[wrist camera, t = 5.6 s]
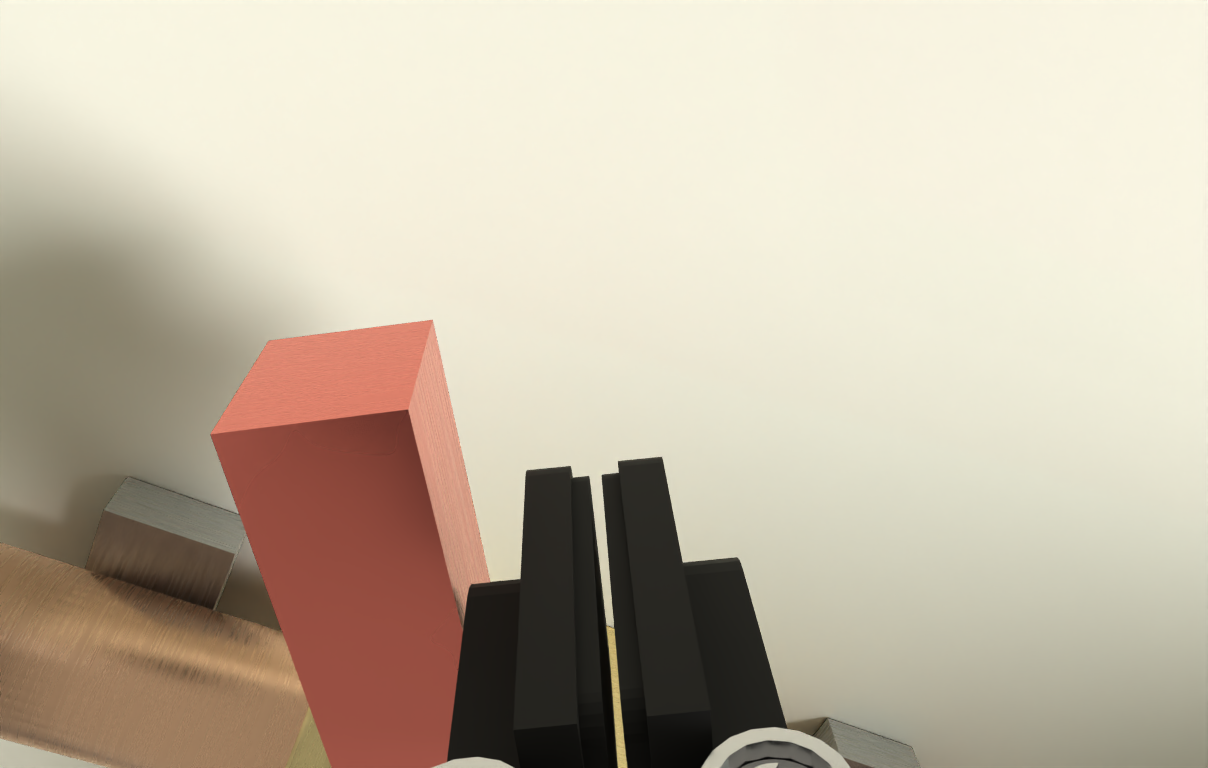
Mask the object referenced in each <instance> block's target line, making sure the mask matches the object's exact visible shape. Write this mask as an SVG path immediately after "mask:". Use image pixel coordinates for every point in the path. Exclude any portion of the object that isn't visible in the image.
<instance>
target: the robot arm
mask: <svg viewBox="0 0 1208 768" xmlns="http://www.w3.org/2000/svg"><path fill="white" fill-rule="evenodd" d="M618 468H619V473H614V474H604V475H602V485H603V497H604V509H605V521H606V533H607V545H608V558H609V570H610V582H611V594H612V606H613V618H614V630H615V642H616V654H617V666H618V678H619V690H620V702H621V713H622V723H623V733H624V743H625V752H626V761H627V768H850V766H849V765H848V764H847V762H846V761H845V760H844V758H843V757H842V756H841V754H839V753H838V752H837V751H835V750H834V749H833V748H831V747H830V746H829V745H827V744H826V743H825V742H823V741H822V740H820V739H817V738H815V737H813V736H810V735H808V734H805V733H803V732H800V731H797V730H790V729H787V726H786V723H785V719H784V715H783V712H782V708H781V705H780V701H779V697H778V694H777V690H776V687H775V683H774V680H773V676H772V672H771V669H770V665H769V662H768V658H767V654H766V651H765V647H764V644H763V640H762V637H761V633H760V629H759V626H758V622H757V619H756V615H755V611H754V608H753V604H752V601H751V597H750V593H749V590H748V586H747V583H746V579H745V576H744V572H743V569H742V566H741V563H740V560H739V559H738V558H737V557H736V558H726V559H716V560H706V561H696V562H686V563H683V562H682V557H681V552H680V547H679V542H678V536H677V531H676V526H675V521H674V516H673V510H672V505H671V500H670V495H669V490H668V484H667V479H666V474H665V469H664V464H663V459H662V457H655V458H645V459H635V460H626V461H618ZM432 768H618V761H617V748H616V734H615V720H614V706H613V692H612V679H611V666H610V655H609V645H608V636H607V627H606V618H605V609H604V600H603V592H602V583H601V574H600V565H599V556H598V547H597V539H596V530H595V521H594V512H593V503H592V494H591V486H590V478H589V476H585V477H575V478H573V476H572V470H571V466H566V467H556V468H546V469H536V470H527V471H526V479H525V500H524V520H523V541H522V561H521V579H517V580H507V581H497V582H487V583H477V584H471V585H470V587H469V590H468V595H467V602H466V610H465V618H464V626H463V634H462V642H461V651H460V659H459V667H458V675H457V683H456V691H455V699H454V707H453V715H452V724H451V732H450V740H449V748H448V756H447V762H446V763H443V764H440V765H437V766H435V767H432Z"/></svg>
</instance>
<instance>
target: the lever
mask: <svg viewBox="0 0 1208 768" xmlns="http://www.w3.org/2000/svg"><path fill="white" fill-rule="evenodd" d="M210 435H211V438H212V440H213V443H214V446H215V449H216V451H217V454H218V457H219V460H220V462H221V465H222V468H223V471H224V473H225V476H226V479H227V482H228V484H229V487H230V490H231V493H232V495H233V498H234V501H235V504H236V506H237V509H238V512H239V515H240V517H241V520H242V523H243V526H244V528H245V531H246V534H247V537H248V539H249V542H250V545H251V548H252V550H253V553H254V556H255V559H256V561H257V564H258V567H259V570H260V572H261V575H262V578H263V581H264V583H265V586H266V589H267V592H268V594H269V597H270V600H271V603H272V605H273V608H274V611H275V614H276V616H277V619H278V622H279V625H280V627H281V630H282V633H283V636H284V638H285V641H286V644H287V647H288V649H289V652H290V655H291V658H292V660H293V663H294V666H295V669H296V671H297V674H298V677H299V680H300V682H301V685H302V688H303V691H304V693H305V696H306V699H307V702H308V704H309V707H310V710H311V713H312V715H313V718H314V721H315V724H316V726H317V729H318V732H319V735H320V737H321V740H322V743H323V746H324V748H325V751H326V754H327V757H328V759H329V762H330V765H331V768H432V767H435V766H437V765H440V764H443V763H446V762H447V756H448V748H449V740H450V732H451V724H452V715H453V707H454V699H455V691H456V683H457V675H458V667H459V659H460V651H461V642H462V634H463V626H464V618H465V610H466V602H467V595H468V590H469V587H470V585H471V584H477V583H487V582H490V578H489V574H488V569H487V565H486V560H485V556H484V551H483V546H482V542H481V537H480V533H479V528H478V524H477V519H476V515H475V510H474V506H473V501H472V496H471V492H470V487H469V483H468V478H467V474H466V469H465V465H464V460H463V456H462V451H461V446H460V442H459V437H458V433H457V428H456V424H455V419H454V415H453V410H452V406H451V401H450V396H449V392H448V387H447V383H446V378H445V374H444V369H443V365H442V360H441V356H440V351H439V346H438V342H437V337H436V333H435V328H434V324H433V320H428V321H420V322H412V323H404V324H397V325H389V326H381V327H373V328H365V329H357V330H349V331H341V332H334V333H326V334H318V335H310V336H302V337H294V338H286V339H279V340H271V341H268V343H267V344H266V346H265V347H264V349H263V351H262V352H261V354H260V355H259V357H258V359H257V360H256V362H255V363H254V365H253V367H252V368H251V370H250V371H249V373H248V375H247V376H246V378H245V379H244V381H243V383H242V384H241V386H240V387H239V389H238V391H237V392H236V394H235V395H234V397H233V399H232V400H231V402H230V404H229V405H228V407H227V408H226V410H225V412H224V413H223V415H222V416H221V418H220V420H219V421H218V423H217V424H216V426H215V428H214V429H213V431H212V432H211V434H210Z"/></svg>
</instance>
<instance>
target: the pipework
mask: <svg viewBox="0 0 1208 768" xmlns="http://www.w3.org/2000/svg"><path fill="white" fill-rule="evenodd" d="M245 535H246V531H245V528H244V526H243V523H242V520H241V517H240V515H238V514H235V513H232V512H229V511H226V510H223V509H221V508H218V507H215V506H212V505H209V504H206V503H203V502H200V501H197V500H194V499H192V498H189V497H186V496H183V495H180V494H177V493H174V492H171V491H168V490H165V489H163V488H160V487H157V486H154V485H151V484H148V483H145V482H142V481H139V480H136V479H134V478H131V477H127V478H126V479H125V481H124V482H123V484H122V485H121V486H120V488H119V489H118V491H117V492H116V493H115V495H114V496H113V497H112V499H111V500H110V502H109V503H108V504H107V506H106V507H105V509H104V510H103V513H102V516H101V519H100V523H99V526H98V529H97V532H96V535H95V538H94V541H93V545H92V548H91V551H90V554H89V557H88V560H87V564H86V567H85V569H83V568H80V567H77V566H73V565H70V564H67V563H64V562H61V561H58V560H55V559H51V558H48V557H45V556H42V555H39V554H36V553H32V552H29V551H26V550H23V549H20V548H17V547H14V546H10V545H7V544H4V543H1V542H0V739H4V740H8V741H12V742H15V743H19V744H23V745H27V746H30V747H34V748H38V749H41V750H45V751H49V752H53V753H56V754H60V755H64V756H67V757H71V758H75V759H79V760H82V761H86V762H90V763H93V764H97V765H101V766H105V767H108V768H331V765H330V762H329V759H328V757H327V754H326V751H325V748H324V746H323V743H322V740H321V737H320V735H319V732H318V729H317V726H316V724H315V721H314V718H313V715H312V713H311V710H310V707H309V704H308V702H307V699H306V696H305V693H304V691H303V688H302V685H301V682H300V680H299V677H298V674H297V671H296V669H295V666H294V663H293V660H292V658H291V655H290V652H289V649H288V647H287V644H286V641H285V638H284V636H283V633H282V632H281V631H278V630H275V629H272V628H269V627H265V626H262V625H259V624H256V623H253V622H250V621H247V620H243V619H240V618H237V617H234V616H231V615H228V614H225V613H221V612H218V611H215V609H216V607H217V604H218V602H219V599H220V597H221V595H222V592H223V590H224V587H225V585H226V582H227V580H228V577H229V575H230V572H231V570H232V567H233V565H234V562H235V560H236V557H237V555H238V552H239V550H240V547H241V545H242V542H243V540H244V537H245ZM606 627H607V636H608V645H609V655H610V666H611V679H612V692H613V706H614V720H615V734H616V748H617V761H618V768H627V761H626V752H625V743H624V733H623V723H622V713H621V702H620V690H619V678H618V666H617V654H616V642H615V630H614V628H611V627H608V626H606ZM813 737H815V738H817V739H820V740H822V741H823V742H825V743H826V744H827V745H829V746H830V747H831V748H833V749H834V750H835V751H837V752H838V753H839V754H841V756H842V757H843V758H844V760H845V761H846V762H847V764H848V765H849V766H850V768H920V765H919V763H918V761H917V758H916V756H915V753H914V751H913V749H912V747H910V746H907V745H904V744H902V743H899V742H896V741H893V740H890V739H887V738H884V737H881V736H878V735H875V734H873V733H870V732H867V731H864V730H861V729H858V728H855V727H852V726H849V725H847V724H844V723H841V722H838V721H835V720H832V719H829V718H828V719H827V720H826V721H825V722H824V724H823V725H822V726H821V727H820V728H819V730H818V731H817V732H816V733H815V735H814V736H813Z"/></svg>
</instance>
